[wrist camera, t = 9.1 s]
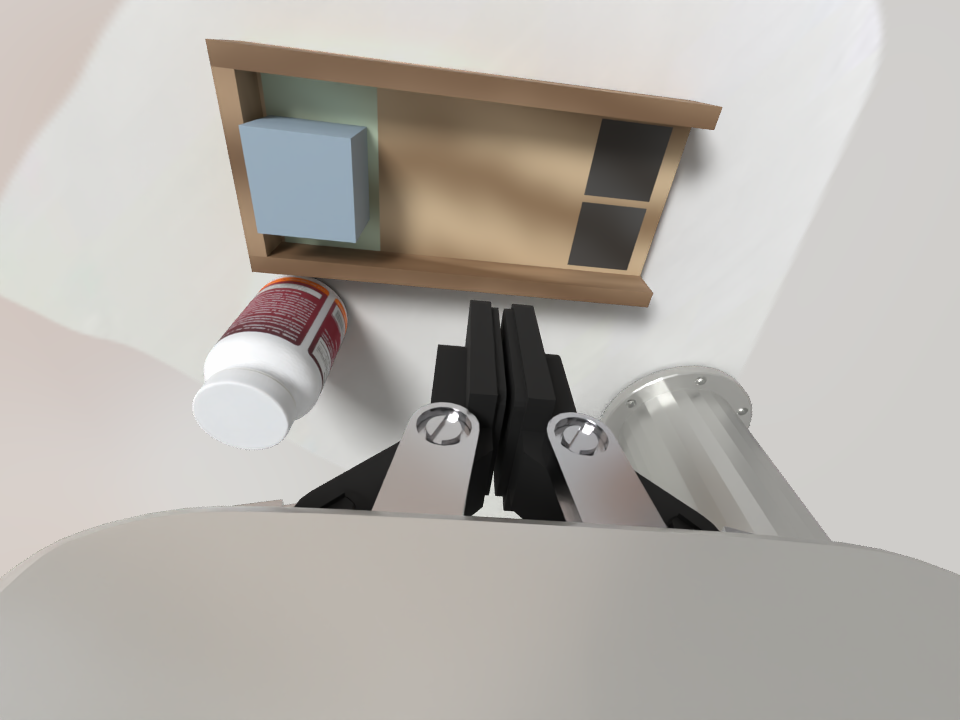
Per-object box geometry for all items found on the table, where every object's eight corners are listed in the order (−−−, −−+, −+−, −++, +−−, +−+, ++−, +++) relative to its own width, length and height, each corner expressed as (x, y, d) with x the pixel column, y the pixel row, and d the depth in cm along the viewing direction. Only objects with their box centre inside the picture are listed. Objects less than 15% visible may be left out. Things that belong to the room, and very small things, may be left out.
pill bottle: (241, 306, 31) (147, 412, 22) (297, 253, 29) (219, 345, 20) (312, 362, 34) (255, 475, 24) (368, 317, 31) (328, 424, 22)
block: (369, 219, 26) (355, 242, 23) (284, 210, 26) (257, 233, 23) (366, 126, 23) (350, 138, 20) (270, 115, 23) (238, 124, 20)
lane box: (630, 283, 30) (647, 307, 27) (273, 249, 28) (252, 271, 25) (692, 100, 24) (722, 107, 21) (239, 40, 22) (205, 38, 19)
